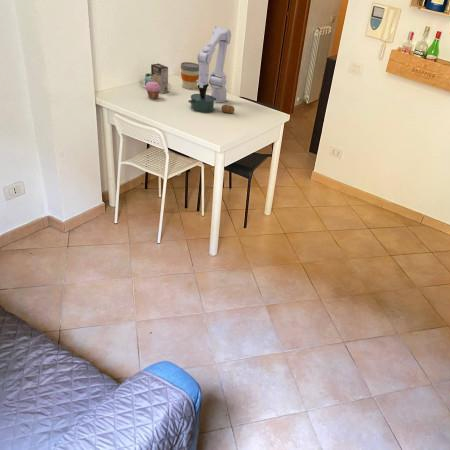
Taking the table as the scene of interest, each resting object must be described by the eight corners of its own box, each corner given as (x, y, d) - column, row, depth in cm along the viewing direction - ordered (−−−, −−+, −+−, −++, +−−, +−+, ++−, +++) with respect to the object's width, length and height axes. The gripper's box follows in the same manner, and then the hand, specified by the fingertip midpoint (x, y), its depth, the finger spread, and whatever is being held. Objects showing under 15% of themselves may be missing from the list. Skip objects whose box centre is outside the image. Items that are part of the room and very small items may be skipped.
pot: (183, 106, 262) (183, 96, 259) (208, 103, 274) (208, 93, 271) (195, 114, 255) (196, 103, 252) (221, 110, 267) (221, 100, 264)
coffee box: (150, 89, 279) (150, 64, 270) (158, 88, 284) (158, 63, 275) (161, 93, 275) (160, 68, 267) (168, 92, 280) (168, 66, 272)
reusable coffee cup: (190, 91, 289) (190, 68, 281) (176, 85, 294) (176, 63, 286) (203, 88, 299) (203, 66, 291) (189, 83, 304) (190, 61, 296)
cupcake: (153, 101, 262) (152, 84, 256) (142, 97, 265) (142, 80, 259) (163, 98, 268) (163, 82, 263) (153, 94, 271) (153, 78, 266)
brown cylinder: (234, 112, 269) (235, 105, 266) (233, 114, 265) (234, 107, 262) (221, 110, 268) (222, 103, 265) (220, 112, 264) (220, 105, 262)
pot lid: (185, 96, 261) (186, 88, 258) (205, 94, 270) (205, 86, 268) (199, 104, 253) (199, 96, 251) (219, 101, 263) (219, 94, 260)
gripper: (199, 69, 259) (198, 92, 266) (194, 75, 247) (193, 99, 254) (210, 71, 260) (209, 93, 267) (206, 77, 248) (205, 100, 255)
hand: (202, 96), depth 261 cm, fingers closed on pot lid, 2 cm apart
